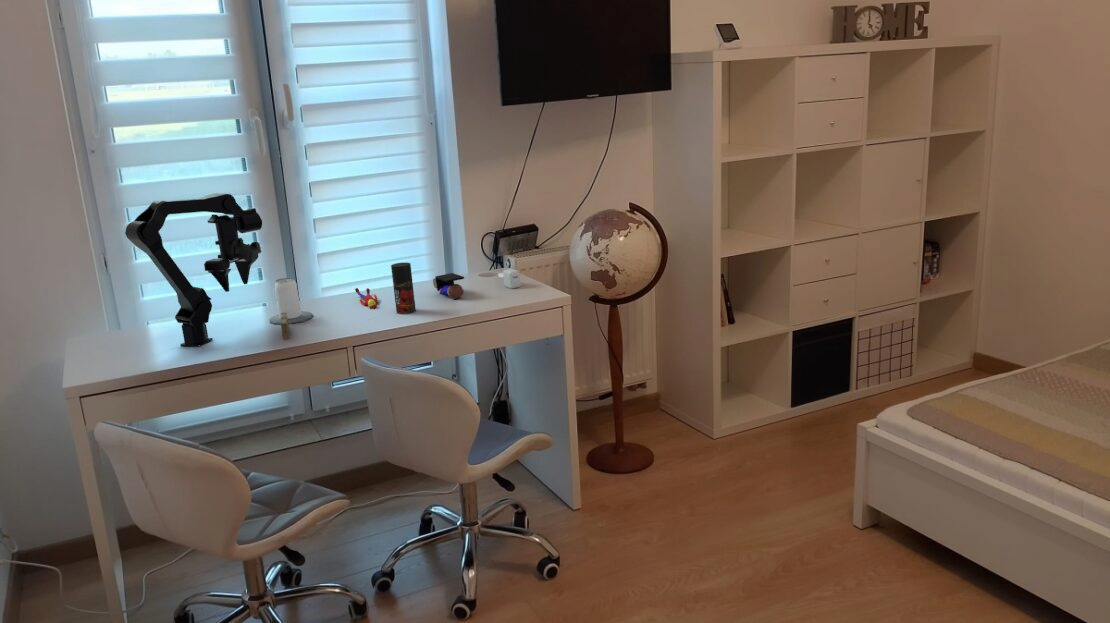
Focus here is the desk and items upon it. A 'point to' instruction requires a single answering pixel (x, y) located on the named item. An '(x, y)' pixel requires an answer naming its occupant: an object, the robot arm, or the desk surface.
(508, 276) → the power adapter
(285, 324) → the partition
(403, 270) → the deodorant
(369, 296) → the character figure
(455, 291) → the figurine character
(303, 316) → the pad
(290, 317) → the can
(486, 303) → the desk surface
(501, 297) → the desk surface
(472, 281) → the desk surface
